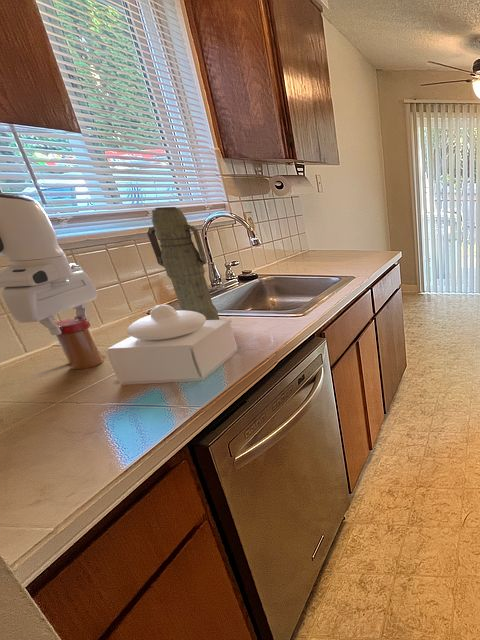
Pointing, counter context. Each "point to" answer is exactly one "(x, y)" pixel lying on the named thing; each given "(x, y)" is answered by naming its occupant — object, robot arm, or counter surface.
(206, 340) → the butter dish
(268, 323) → the counter surface
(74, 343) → the jar
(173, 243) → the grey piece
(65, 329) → the lid
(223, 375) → the counter surface
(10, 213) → the robot arm
